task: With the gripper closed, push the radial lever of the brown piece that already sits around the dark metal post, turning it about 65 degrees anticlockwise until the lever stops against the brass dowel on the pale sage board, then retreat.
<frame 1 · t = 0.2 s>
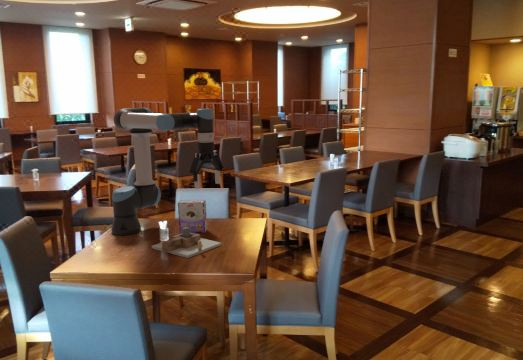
hand: (207, 185, 223), 28 cm above the table, fingers open, 13 cm apart
candy box: (193, 231, 245), on the table
brown piece: (179, 242, 215), point 3 cm above the table, hinge at -90.0°
post board: (186, 246, 219), on the table
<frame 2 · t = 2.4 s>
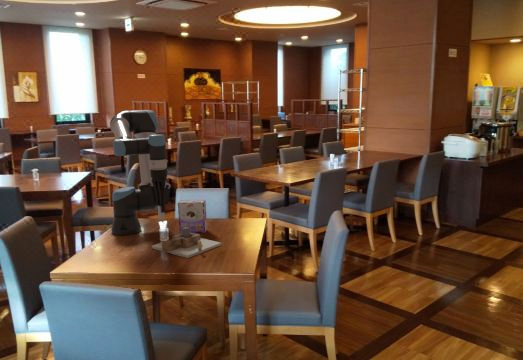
hand: (161, 218, 215), 14 cm above the table, fingers closed
nothing on the table moved.
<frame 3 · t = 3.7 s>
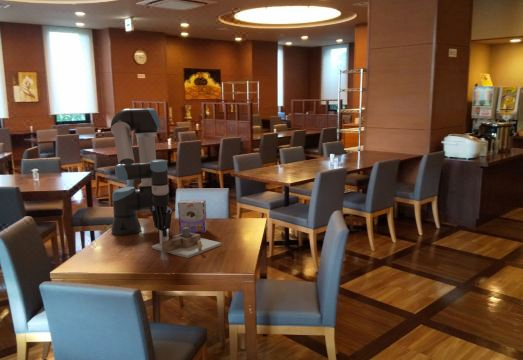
hand: (163, 243, 217), 3 cm above the table, fingers closed
nothing on the table moved.
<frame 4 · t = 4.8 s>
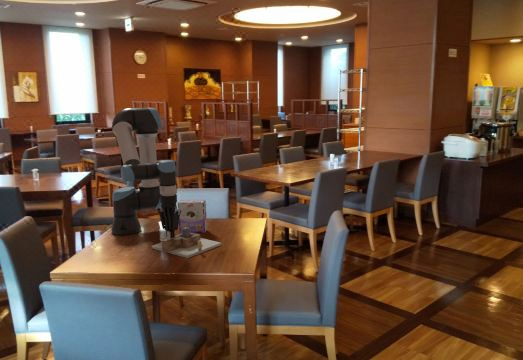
hand: (171, 244, 214), 3 cm above the table, fingers closed
brown piece: (179, 242, 215), point 3 cm above the table, hinge at -89.8°, touching gripper
everything else where it was.
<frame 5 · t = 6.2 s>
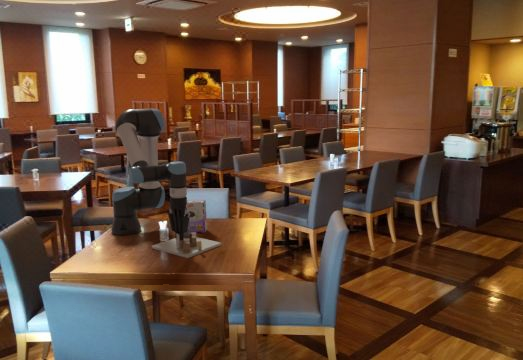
hand: (179, 246, 211), 2 cm above the table, fingers closed
brown piece: (186, 242, 214), point 3 cm above the table, hinge at -43.8°, touching gripper
everything else where it was.
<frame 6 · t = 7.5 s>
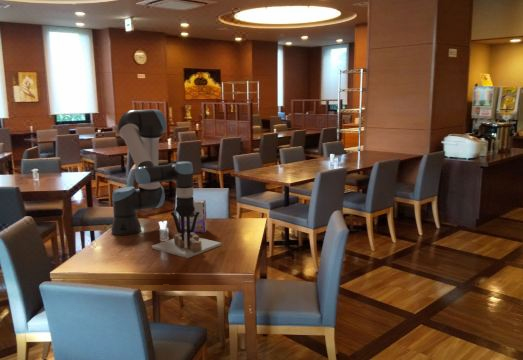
hand: (186, 247, 211), 2 cm above the table, fingers closed
brown piece: (189, 242, 215), point 3 cm above the table, hinge at -25.0°, touching gripper, post board
everything else where it was.
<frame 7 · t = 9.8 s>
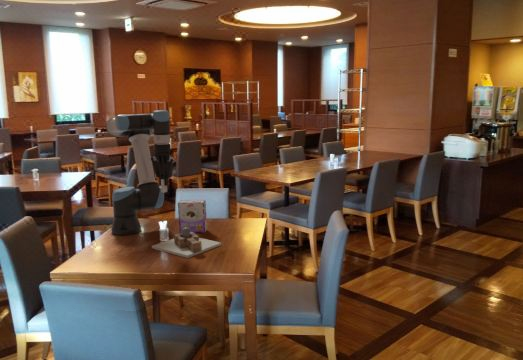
hand: (164, 191, 224), 25 cm above the table, fingers closed
brown piece: (189, 242, 215), point 3 cm above the table, hinge at -25.0°, touching post board
everything else where it was.
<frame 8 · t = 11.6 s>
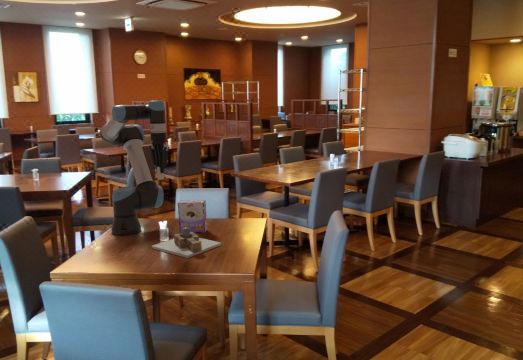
hand: (160, 179, 233), 29 cm above the table, fingers closed
nothing on the table moved.
at the end: brown piece at -25° (first picture: -90°) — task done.
